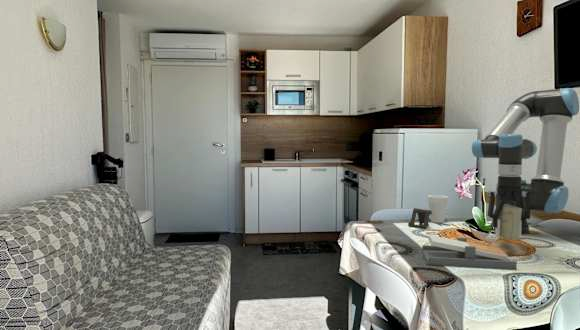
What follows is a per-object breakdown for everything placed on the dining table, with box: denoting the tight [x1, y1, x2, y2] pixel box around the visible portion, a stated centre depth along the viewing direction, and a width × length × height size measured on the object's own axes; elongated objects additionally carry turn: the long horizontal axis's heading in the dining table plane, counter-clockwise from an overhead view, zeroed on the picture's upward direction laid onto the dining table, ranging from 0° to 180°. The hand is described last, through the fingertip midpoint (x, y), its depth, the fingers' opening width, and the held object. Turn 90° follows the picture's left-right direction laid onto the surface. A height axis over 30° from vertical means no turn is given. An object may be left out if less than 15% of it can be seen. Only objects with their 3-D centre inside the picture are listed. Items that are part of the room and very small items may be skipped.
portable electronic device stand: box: [407, 207, 432, 230], centre depth 179 cm, size 9×8×8 cm
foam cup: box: [427, 194, 449, 224], centre depth 190 cm, size 10×9×13 cm
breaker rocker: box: [427, 234, 509, 261], centre depth 129 cm, size 24×9×2 cm, turn 78°
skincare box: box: [499, 204, 522, 241], centre depth 138 cm, size 6×4×12 cm
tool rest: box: [489, 241, 528, 256], centre depth 139 cm, size 12×12×2 cm
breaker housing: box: [421, 236, 517, 270], centre depth 130 cm, size 27×15×6 cm, turn 78°
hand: (507, 236), depth 139 cm, fingers closed on skincare box, 6 cm apart
